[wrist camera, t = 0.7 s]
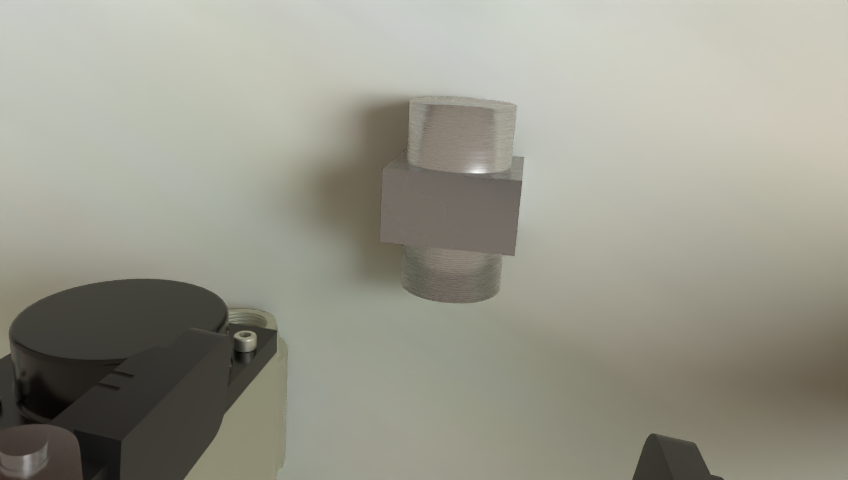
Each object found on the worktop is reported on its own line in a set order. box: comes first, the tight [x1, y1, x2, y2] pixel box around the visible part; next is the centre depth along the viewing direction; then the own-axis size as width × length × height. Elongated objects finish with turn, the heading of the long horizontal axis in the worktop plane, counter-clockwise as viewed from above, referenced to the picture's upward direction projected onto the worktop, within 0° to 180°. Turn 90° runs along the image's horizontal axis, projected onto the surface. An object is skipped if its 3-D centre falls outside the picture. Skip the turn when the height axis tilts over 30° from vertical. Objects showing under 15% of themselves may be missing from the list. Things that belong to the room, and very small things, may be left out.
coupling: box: [380, 97, 524, 303], centre depth 28 cm, size 5×8×5 cm
